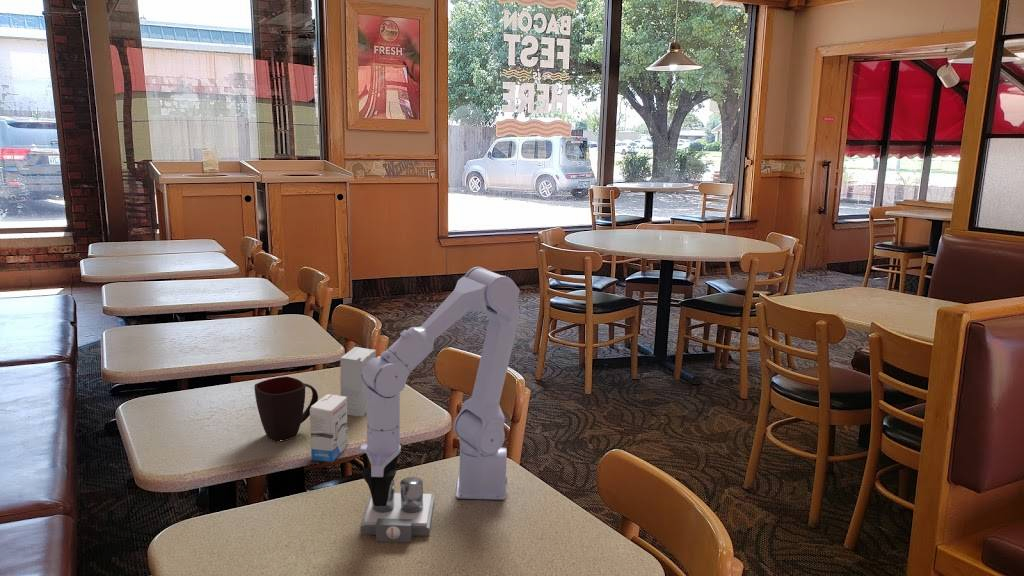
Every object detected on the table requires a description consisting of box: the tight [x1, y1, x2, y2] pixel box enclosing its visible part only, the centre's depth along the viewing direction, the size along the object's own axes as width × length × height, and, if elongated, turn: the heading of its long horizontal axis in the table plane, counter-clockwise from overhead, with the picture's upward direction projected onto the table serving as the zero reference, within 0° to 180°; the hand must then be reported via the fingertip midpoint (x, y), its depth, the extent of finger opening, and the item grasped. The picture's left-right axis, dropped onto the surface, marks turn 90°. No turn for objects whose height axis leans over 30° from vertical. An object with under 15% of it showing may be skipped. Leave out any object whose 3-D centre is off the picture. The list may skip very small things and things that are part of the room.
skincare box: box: [339, 346, 377, 418], centre depth 179 cm, size 8×6×15 cm
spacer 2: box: [399, 476, 424, 513], centre depth 133 cm, size 4×4×5 cm
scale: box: [360, 492, 435, 543], centre depth 133 cm, size 12×13×3 cm
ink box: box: [309, 393, 349, 463], centre depth 157 cm, size 9×5×12 cm, turn 168°
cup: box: [253, 376, 319, 442], centre depth 165 cm, size 10×14×12 cm
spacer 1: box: [372, 478, 395, 513], centre depth 133 cm, size 4×4×5 cm
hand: (383, 493), depth 133 cm, fingers open, 7 cm apart
